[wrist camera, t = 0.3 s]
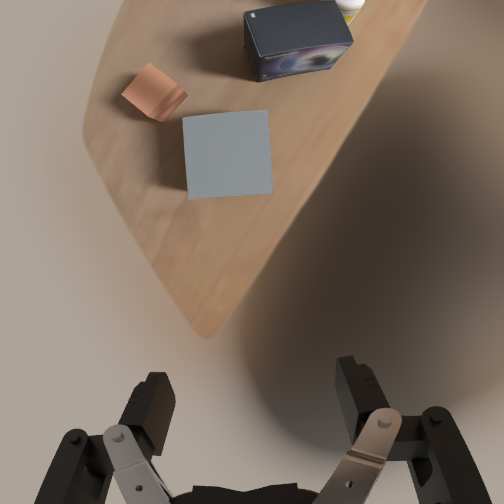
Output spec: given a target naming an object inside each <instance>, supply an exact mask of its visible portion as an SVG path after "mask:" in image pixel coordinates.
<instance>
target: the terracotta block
mask: <svg viewBox="0 0 504 504" xmlns="http://www.w3.org/2000/svg"><path fill="white" fill-rule="evenodd" d="M121 95H123V96H124V97H125V98H126V99H128V100H129V101H130V102H131V103H132V104H134V105H135V106H136V107H137V108H138V109H140V110H141V111H142V112H143V113H144V114H146V115H147V116H148V117H150V118H153V119H155V120H157V121H160V122H162V123H164V122H165V121H166V119H167V118H168V117H169V116H170V115H171V114H172V113H173V111H174V110H175V109H176V108H177V107H178V106H179V105H180V104H181V103H182V101H183V100H184V99H185V98H186V97H187V96H188V95H187V94H186V93H185V91H184V90H183V89H182V88H181V87H180V86H179V85H178V84H177V83H175V82H174V81H173V80H171V79H170V78H169V77H167V76H166V75H165V74H163V73H162V72H161V71H159V70H158V69H157V68H155V67H154V66H153V65H151V64H150V63H148V64H147V65H146V66H145V67H144V68H143V70H142V71H141V72H140V73H139V74H138V75H137V76H136V77H135V79H134V80H133V81H132V82H131V83H130V84H129V86H128V87H127V88H126V89H125V90H124V92H123V93H122V94H121Z"/></svg>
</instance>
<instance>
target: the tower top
mask: <svg viewBox="0 0 504 504" xmlns="http://www.w3.org/2000/svg"><path fill="white" fill-rule="evenodd" d="M182 119H183V136H184V151H185V165H186V177H187V188H188V199H189V200H192V199H203V198H215V197H228V196H242V195H257V194H273V178H272V161H271V146H270V131H269V117H268V110H250V111H236V112H225V113H215V114H206V115H197V116H190V117H183V118H182Z"/></svg>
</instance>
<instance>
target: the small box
mask: <svg viewBox="0 0 504 504" xmlns="http://www.w3.org/2000/svg"><path fill="white" fill-rule="evenodd" d="M243 17H244V37H245V46H244V48H245V50H246V52H247V55H248V57H249V61H250V63H251V66H252V69H253V74H254V76H255V78H256V80H257V82H263V81H267V80H272V79H276V78H281V77H286V76H291V75H296V74H301V73H307V72H313V71H319V70H326V69H330V68H331V67H332V66H333V65H334V64H335V62H336V61H337V60H338V59H339V58H340V57H341V56H342V55H343V53H344V52H345V51H346V50H347V49H348V48H349V47H350V46H351V45H352V44H353V43H354V41H353V38H352V35H351V33H350V30H349V28H348V26H347V24H346V21H345V19H344V17H343V15H342V13H341V11H340V9H339V7H338V5H337V3H336V1H335V0H325V1H312V2H302V3H293V4H286V5H279V6H273V7H267V8H261V9H256V10H251V11H246V12H244V13H243Z"/></svg>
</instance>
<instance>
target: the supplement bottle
mask: <svg viewBox="0 0 504 504" xmlns="http://www.w3.org/2000/svg"><path fill="white" fill-rule="evenodd" d="M319 1H325V0H319ZM335 1H336V3H337V5H338V7H339V9H340V11H341V13H342V15H343V17H344V19H345V21H346V24H347V26H348V25H349V24H350V22H351V21H352V20H353V18H354V17H355V15H356V14H357V12H358V11H359V10H360V8H361V7H362V5H363V4H364V2H365V0H335Z"/></svg>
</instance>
